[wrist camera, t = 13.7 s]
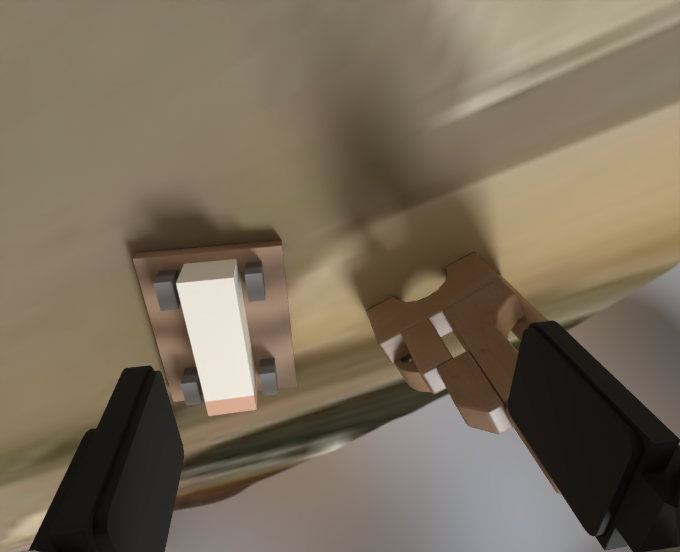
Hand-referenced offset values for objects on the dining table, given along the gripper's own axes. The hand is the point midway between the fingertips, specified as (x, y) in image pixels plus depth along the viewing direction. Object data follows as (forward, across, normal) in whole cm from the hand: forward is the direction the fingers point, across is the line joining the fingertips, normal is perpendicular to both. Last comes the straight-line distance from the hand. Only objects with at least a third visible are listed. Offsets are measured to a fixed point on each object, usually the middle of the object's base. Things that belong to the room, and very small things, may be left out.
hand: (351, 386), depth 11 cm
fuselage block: (+30, +9, +18) cm, 36 cm away
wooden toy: (+32, -15, +18) cm, 40 cm away
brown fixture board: (+32, +9, +18) cm, 38 cm away
